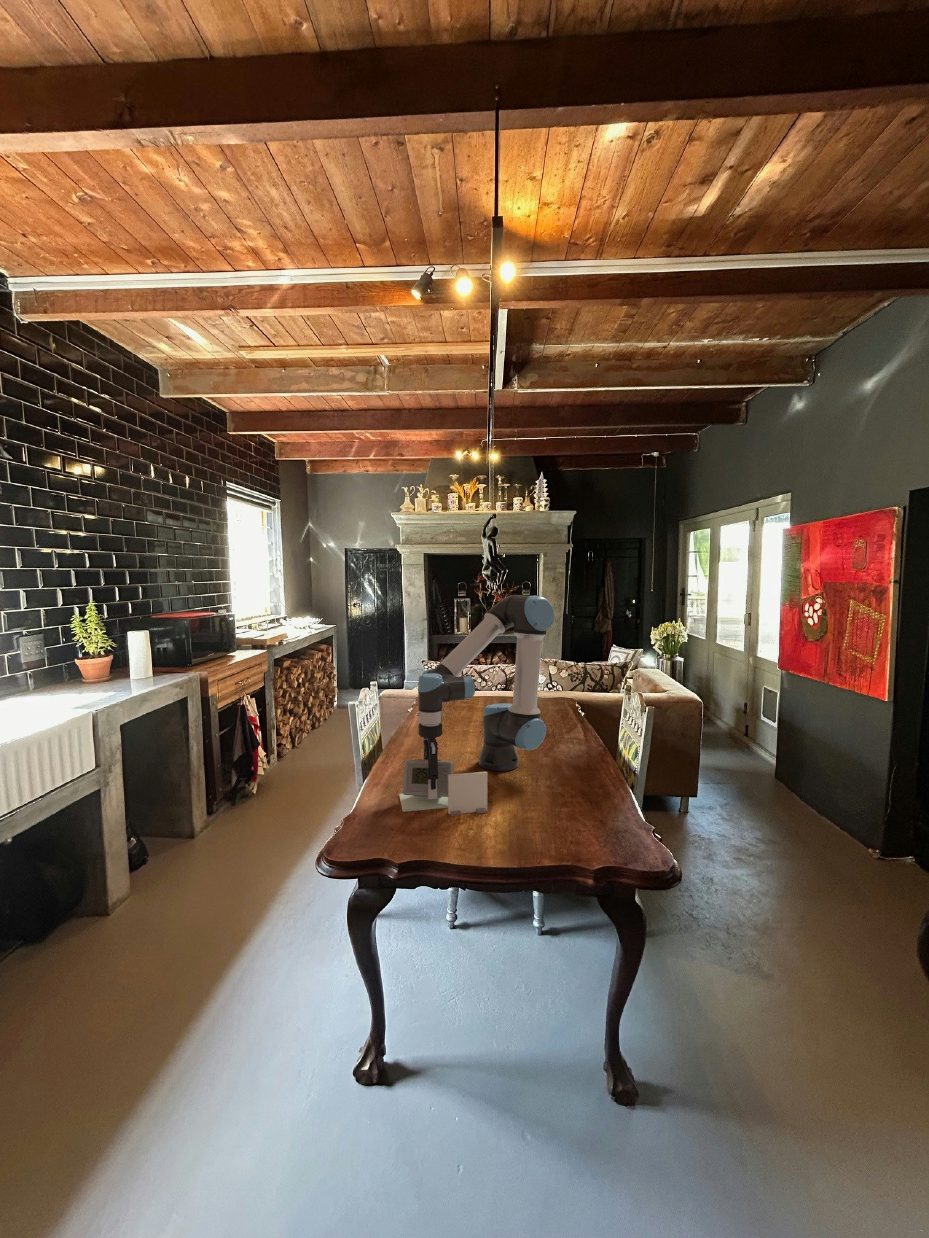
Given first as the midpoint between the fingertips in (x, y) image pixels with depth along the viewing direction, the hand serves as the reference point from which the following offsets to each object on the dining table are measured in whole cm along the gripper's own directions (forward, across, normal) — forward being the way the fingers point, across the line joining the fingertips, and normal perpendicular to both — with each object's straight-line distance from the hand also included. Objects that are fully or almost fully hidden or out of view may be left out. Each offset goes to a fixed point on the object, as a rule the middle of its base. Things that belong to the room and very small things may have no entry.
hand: (430, 792), depth 171 cm
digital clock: (+1, 0, -1) cm, 1 cm away
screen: (+3, +10, +10) cm, 14 cm away
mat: (+3, 0, 0) cm, 3 cm away
